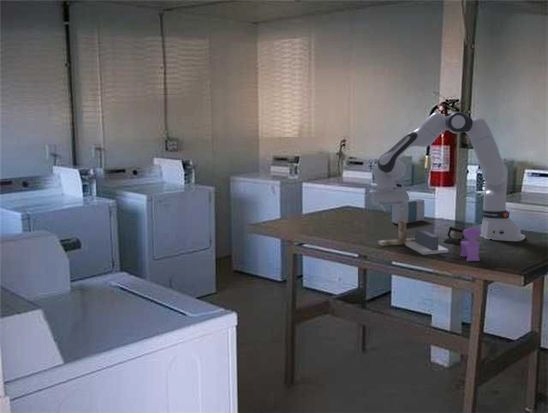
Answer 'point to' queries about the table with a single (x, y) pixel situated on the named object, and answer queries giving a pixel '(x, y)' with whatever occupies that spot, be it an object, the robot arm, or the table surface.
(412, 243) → the ridge stand
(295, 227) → the table surface
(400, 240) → the balance beam
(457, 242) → the clothes iron
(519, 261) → the table surface
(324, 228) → the table surface
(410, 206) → the stereo radio cassette player
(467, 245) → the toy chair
